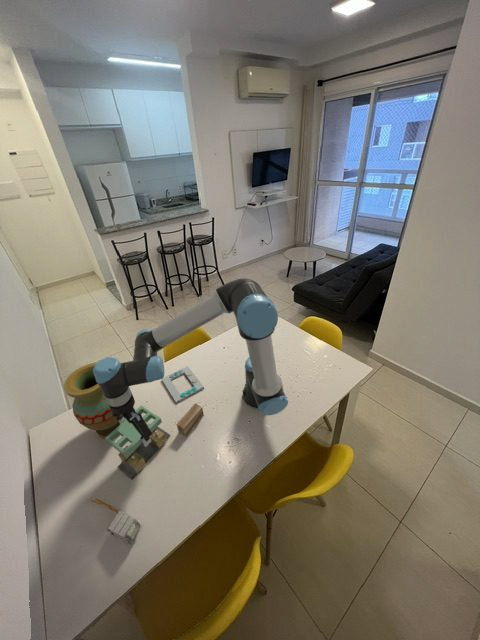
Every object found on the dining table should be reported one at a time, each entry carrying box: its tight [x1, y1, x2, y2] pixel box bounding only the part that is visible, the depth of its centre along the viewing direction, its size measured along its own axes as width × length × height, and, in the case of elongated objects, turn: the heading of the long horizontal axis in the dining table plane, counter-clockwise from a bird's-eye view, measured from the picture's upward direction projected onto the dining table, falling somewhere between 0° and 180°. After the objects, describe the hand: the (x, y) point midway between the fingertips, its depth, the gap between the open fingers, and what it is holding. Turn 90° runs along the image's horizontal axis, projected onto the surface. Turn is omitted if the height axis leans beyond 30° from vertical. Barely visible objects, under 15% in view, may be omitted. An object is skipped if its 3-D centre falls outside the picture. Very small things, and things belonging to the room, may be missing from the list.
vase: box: [63, 362, 120, 440], centre depth 106 cm, size 20×20×30 cm
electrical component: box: [85, 496, 142, 546], centre depth 84 cm, size 24×6×5 cm, turn 67°
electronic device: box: [161, 365, 205, 404], centre depth 131 cm, size 18×2×15 cm
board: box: [104, 405, 163, 458], centre depth 95 cm, size 11×16×2 cm
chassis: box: [116, 423, 171, 481], centre depth 101 cm, size 9×20×8 cm, turn 148°
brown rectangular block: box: [176, 403, 204, 438], centre depth 111 cm, size 4×12×6 cm, turn 148°
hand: (137, 435), depth 97 cm, fingers closed on board, 11 cm apart
